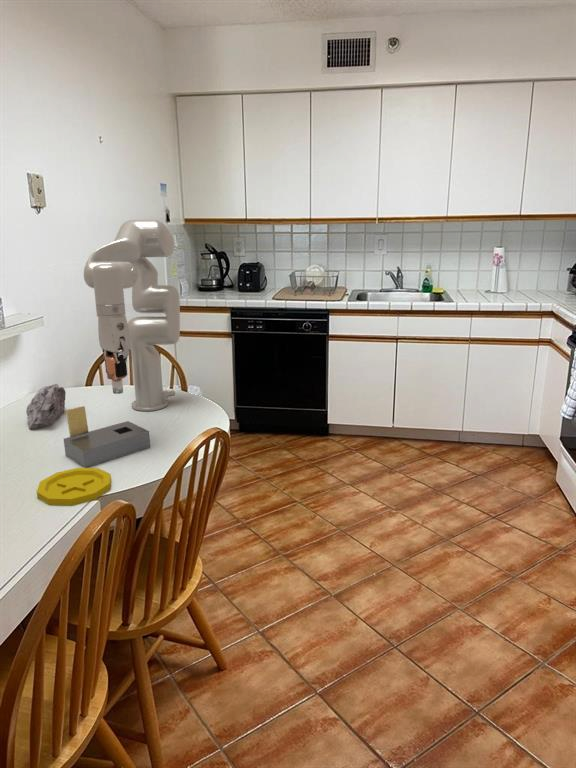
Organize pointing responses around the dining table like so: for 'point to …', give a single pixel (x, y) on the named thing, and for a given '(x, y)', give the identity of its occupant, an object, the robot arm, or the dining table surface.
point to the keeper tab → (77, 421)
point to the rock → (46, 406)
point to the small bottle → (114, 374)
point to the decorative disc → (74, 486)
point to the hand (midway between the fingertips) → (116, 373)
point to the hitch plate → (106, 443)
